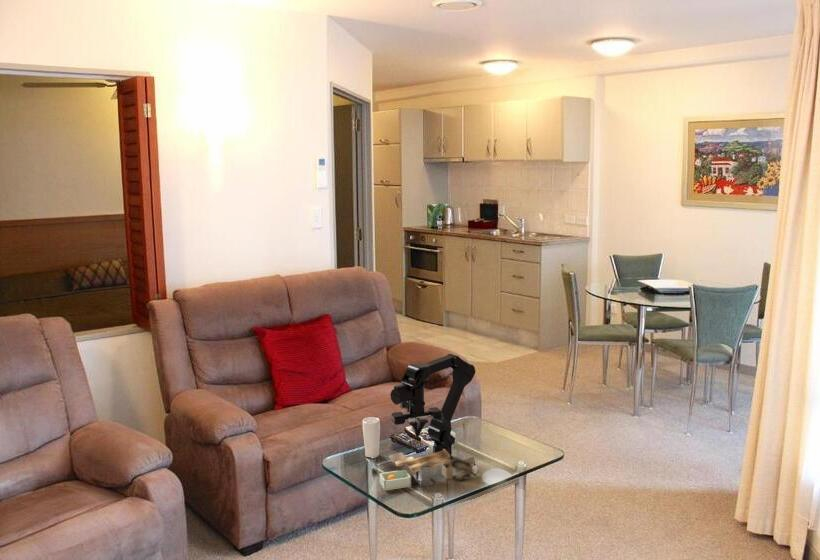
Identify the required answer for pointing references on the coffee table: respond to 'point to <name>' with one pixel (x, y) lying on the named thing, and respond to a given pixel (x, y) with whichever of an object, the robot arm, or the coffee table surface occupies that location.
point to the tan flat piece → (421, 460)
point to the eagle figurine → (466, 467)
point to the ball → (391, 477)
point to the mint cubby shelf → (395, 480)
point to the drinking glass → (371, 436)
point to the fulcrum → (424, 474)
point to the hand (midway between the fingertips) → (417, 437)
